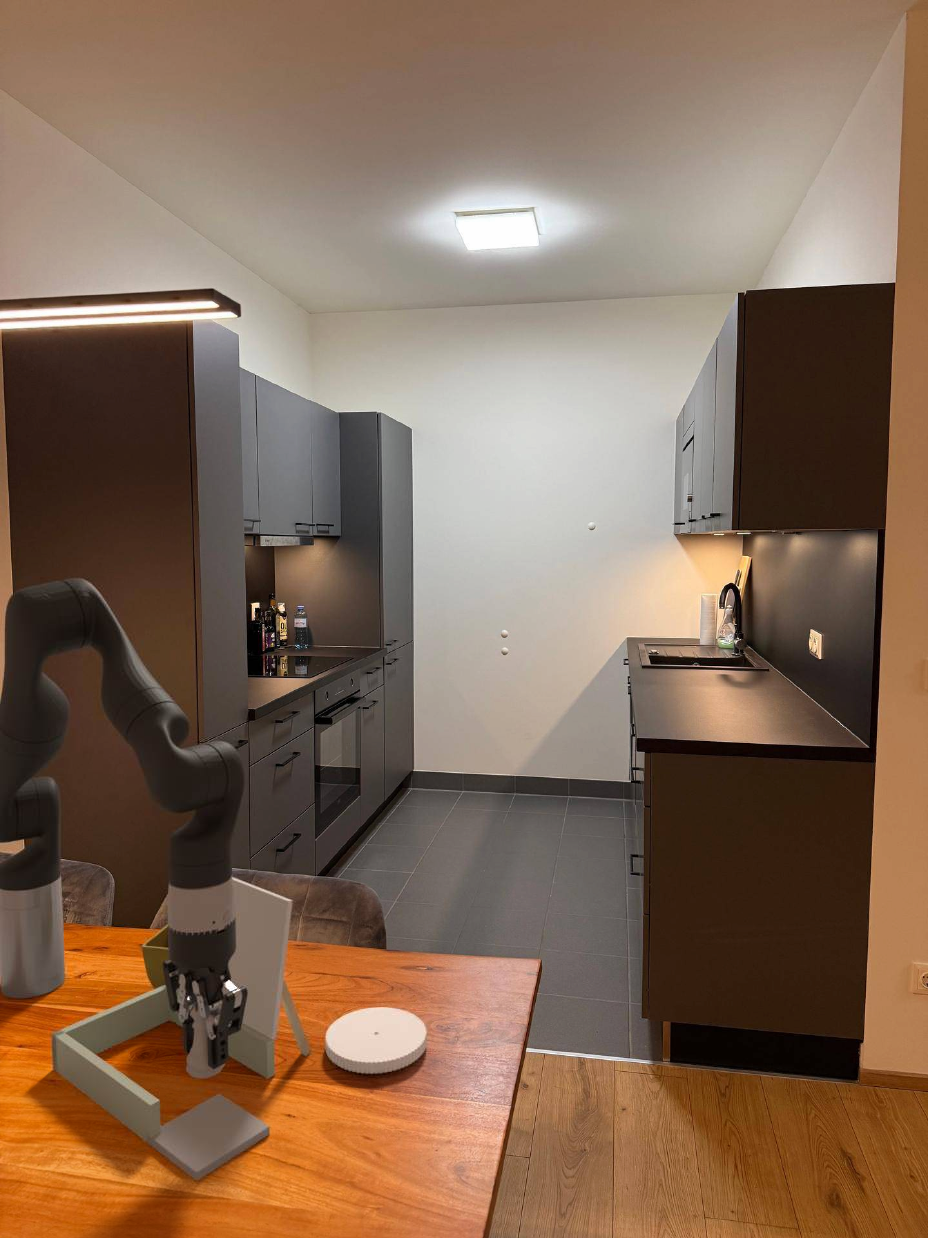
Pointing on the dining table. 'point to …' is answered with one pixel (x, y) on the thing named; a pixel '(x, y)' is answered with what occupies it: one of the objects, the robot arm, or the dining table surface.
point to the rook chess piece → (200, 1048)
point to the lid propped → (260, 953)
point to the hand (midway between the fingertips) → (205, 1056)
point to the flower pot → (156, 957)
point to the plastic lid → (376, 1040)
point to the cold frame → (130, 1020)
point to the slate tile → (208, 1136)
